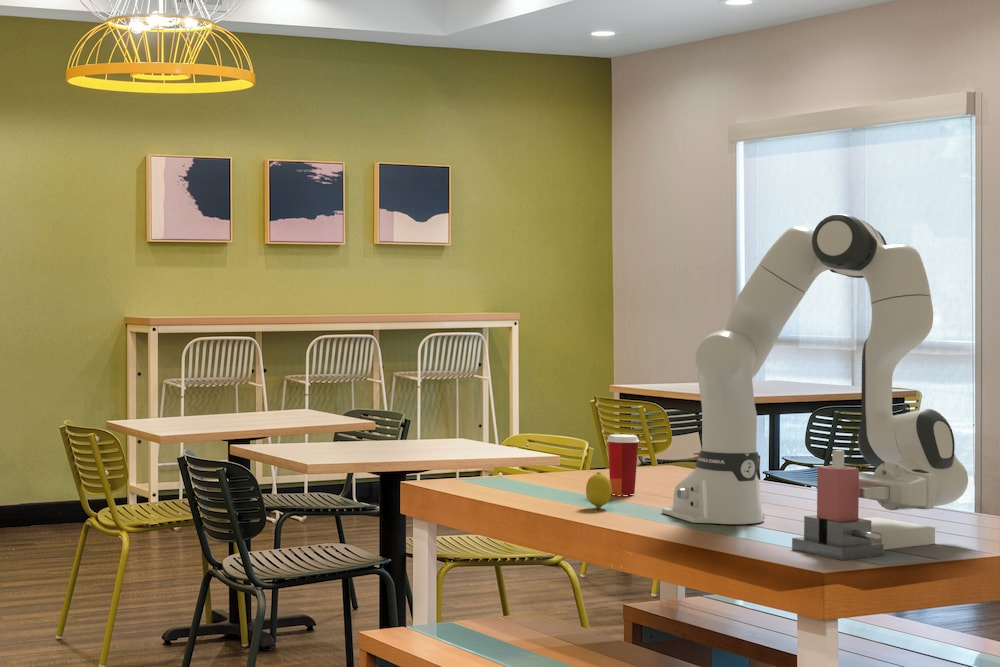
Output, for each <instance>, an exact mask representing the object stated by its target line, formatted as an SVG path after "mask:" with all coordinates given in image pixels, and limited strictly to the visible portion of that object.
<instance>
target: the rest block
mask: <svg viewBox="0 0 1000 667" xmlns="http://www.w3.org/2000/svg"><path fill="white" fill-rule="evenodd" d="M861 519H865V520H871V533H875V534H880V535H881V536H882V539H881V541H874V540H871V542H876V543H881V544H883V551H884V550H894V549H900V548H901V549H902V548H909V547H918V546H925V545H927V546H928V545H935V544H936V527H935V526H929V525H925V524H924V525H922V524H918V523H911V522H906V521H901V520H896V519H895V520H894V519H890V518H884V517H879V516H876V517H875V516H874V517H864V518H861Z"/></svg>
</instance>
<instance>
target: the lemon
mask: <svg viewBox="0 0 1000 667" xmlns="http://www.w3.org/2000/svg"><path fill="white" fill-rule="evenodd" d="M611 491H612V490H611V484H610V478H608V476H607V475H605V474H603V473H601V471H598V472H596V473H594V474H592V475H591V476H590V477H589V478H588V480H587V483H586V487H585V495H586V498H587V500H588V502H589V503H590V504H591V505H593V506H595V508H596V509H598V510H599V509H601V508H602V507H603V506H604V505H606V504H607V503H609V501H610V500H611V498H612V497H611V496H612V495H611Z"/></svg>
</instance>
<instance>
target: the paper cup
mask: <svg viewBox="0 0 1000 667" xmlns="http://www.w3.org/2000/svg"><path fill="white" fill-rule="evenodd" d="M606 442H607V448H608V451H607V452H608V468H609V469H608V470H609V471H608V472H609V481H610V484H611V490H612V491H611V494H615V495H630V494H634V495H635V492H636V482H637V481H636V479H637V465H638V455H639V454H638V452H639V451H638V450H639V443H640V440H639V438H638V436H637V435H635V434H622V433H621V434H619V433H618V434H617V433H616V434H608V437H607V439H606Z"/></svg>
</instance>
